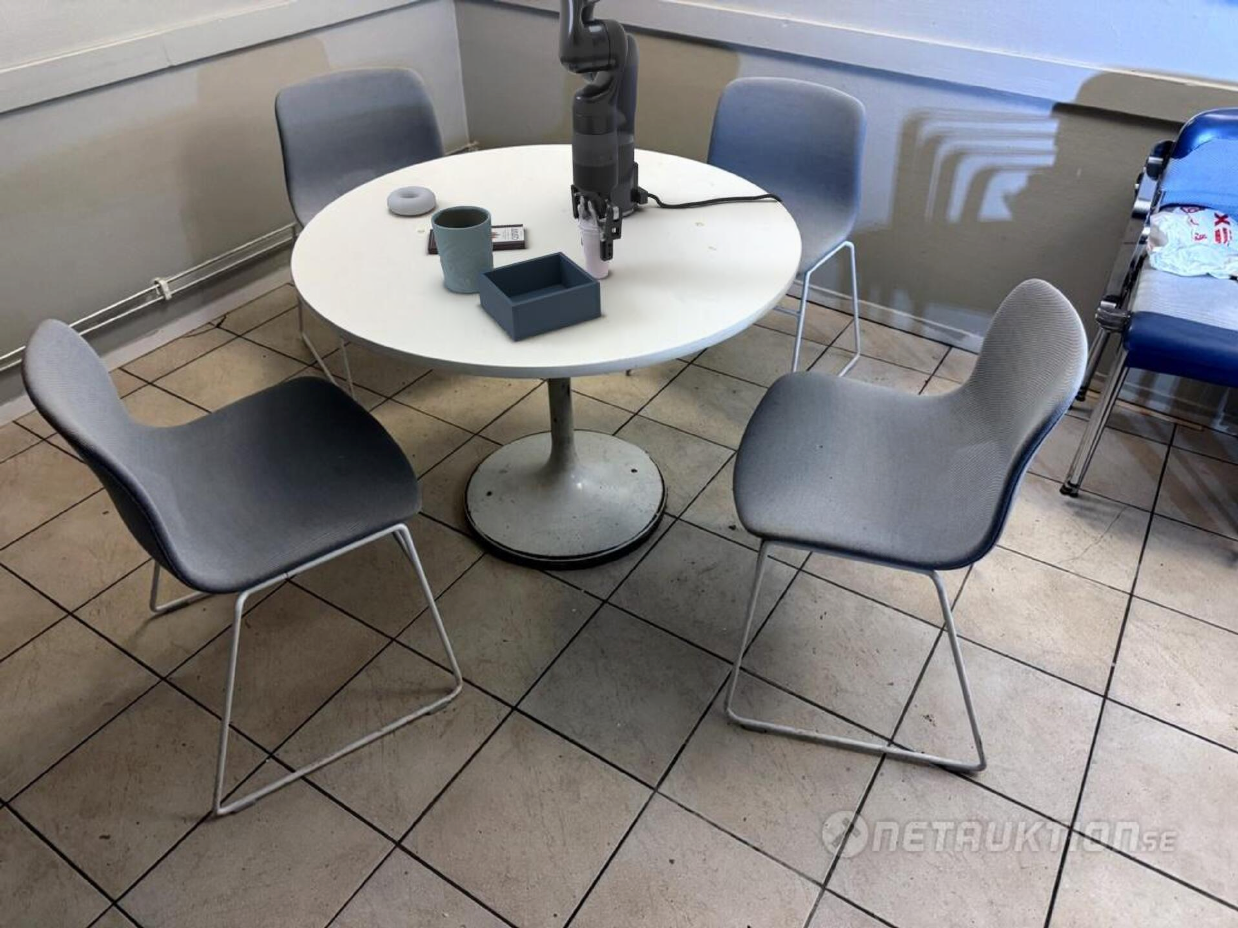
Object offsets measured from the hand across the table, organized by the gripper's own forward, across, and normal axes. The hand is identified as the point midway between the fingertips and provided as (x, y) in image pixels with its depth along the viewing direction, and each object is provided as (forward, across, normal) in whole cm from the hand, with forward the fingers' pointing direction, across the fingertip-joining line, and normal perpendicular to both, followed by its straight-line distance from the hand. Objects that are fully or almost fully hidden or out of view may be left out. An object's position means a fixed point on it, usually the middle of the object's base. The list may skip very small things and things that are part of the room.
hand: (597, 252), depth 147 cm
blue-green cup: (+4, +9, +21) cm, 23 cm away
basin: (+4, -7, +15) cm, 17 cm away
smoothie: (+4, 0, 0) cm, 4 cm away
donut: (+4, +46, +18) cm, 50 cm away
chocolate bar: (+4, +24, +13) cm, 28 cm away
